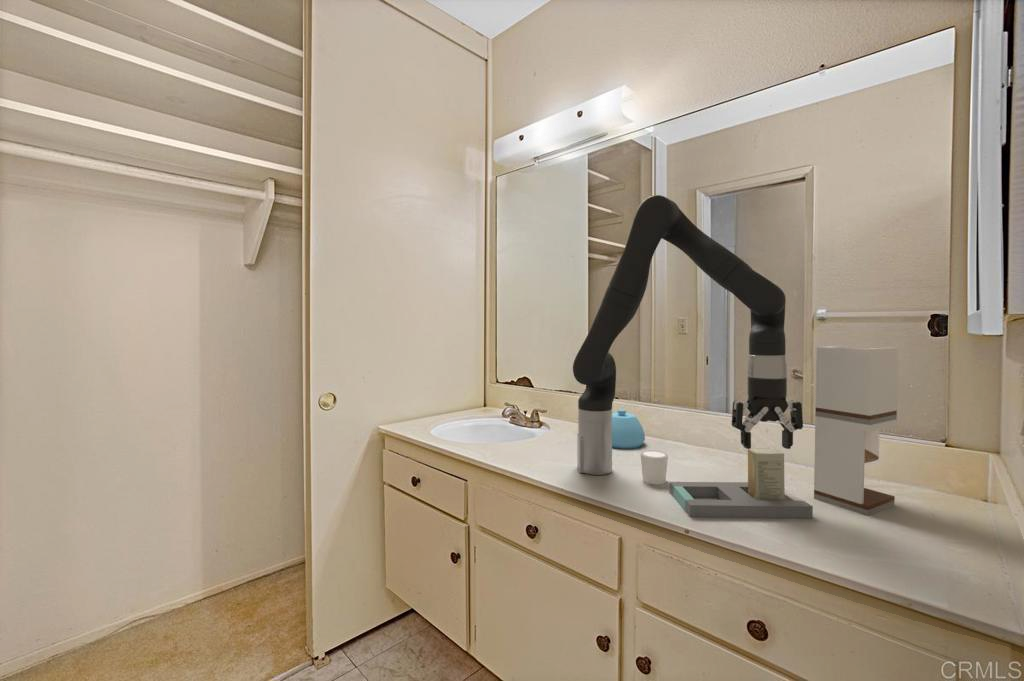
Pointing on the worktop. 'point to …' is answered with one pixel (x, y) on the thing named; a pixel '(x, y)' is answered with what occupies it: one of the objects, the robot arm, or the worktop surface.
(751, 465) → the skincare box
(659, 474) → the white tapered cup
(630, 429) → the sugar bowl
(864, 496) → the coffee maker
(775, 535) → the worktop surface
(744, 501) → the slot holder
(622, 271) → the robot arm
